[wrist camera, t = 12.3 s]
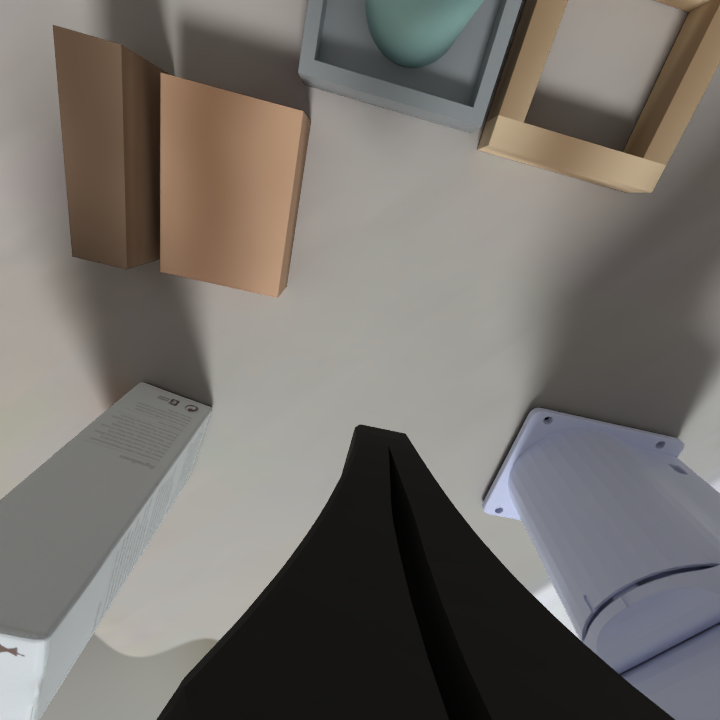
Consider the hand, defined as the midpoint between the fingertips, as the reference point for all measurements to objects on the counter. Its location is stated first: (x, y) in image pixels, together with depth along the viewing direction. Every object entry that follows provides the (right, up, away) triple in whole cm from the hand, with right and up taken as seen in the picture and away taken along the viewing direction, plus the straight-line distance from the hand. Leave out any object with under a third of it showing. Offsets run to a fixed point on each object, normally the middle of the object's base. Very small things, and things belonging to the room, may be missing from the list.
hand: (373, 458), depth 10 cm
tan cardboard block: (-6, +10, +7) cm, 13 cm away
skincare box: (-12, -2, +12) cm, 17 cm away
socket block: (+9, +14, +5) cm, 17 cm away
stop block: (-10, +11, +6) cm, 16 cm away
